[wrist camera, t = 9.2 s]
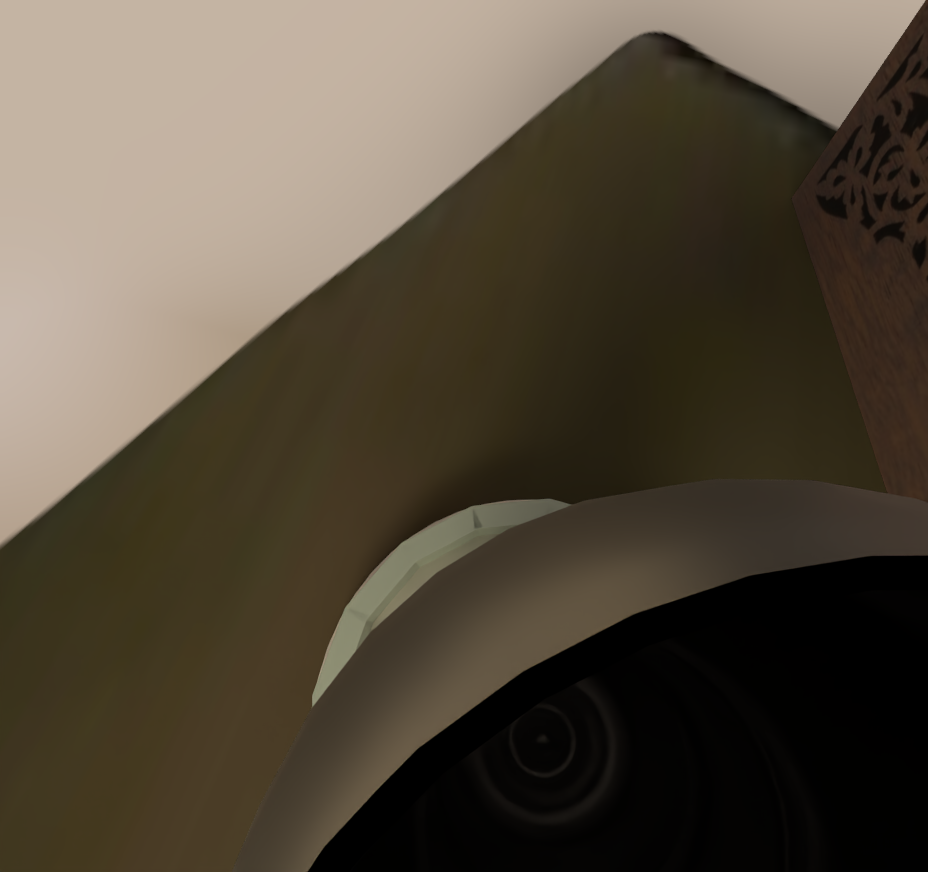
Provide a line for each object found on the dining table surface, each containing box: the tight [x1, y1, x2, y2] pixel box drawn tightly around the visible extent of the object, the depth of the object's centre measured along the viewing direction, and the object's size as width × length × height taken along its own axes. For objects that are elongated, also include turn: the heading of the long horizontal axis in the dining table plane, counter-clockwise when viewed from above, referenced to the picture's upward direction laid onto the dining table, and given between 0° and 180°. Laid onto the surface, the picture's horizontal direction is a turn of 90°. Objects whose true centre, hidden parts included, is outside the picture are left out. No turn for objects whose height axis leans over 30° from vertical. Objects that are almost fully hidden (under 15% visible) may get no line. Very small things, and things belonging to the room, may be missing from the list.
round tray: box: [312, 499, 571, 707], centre depth 17 cm, size 14×14×2 cm
